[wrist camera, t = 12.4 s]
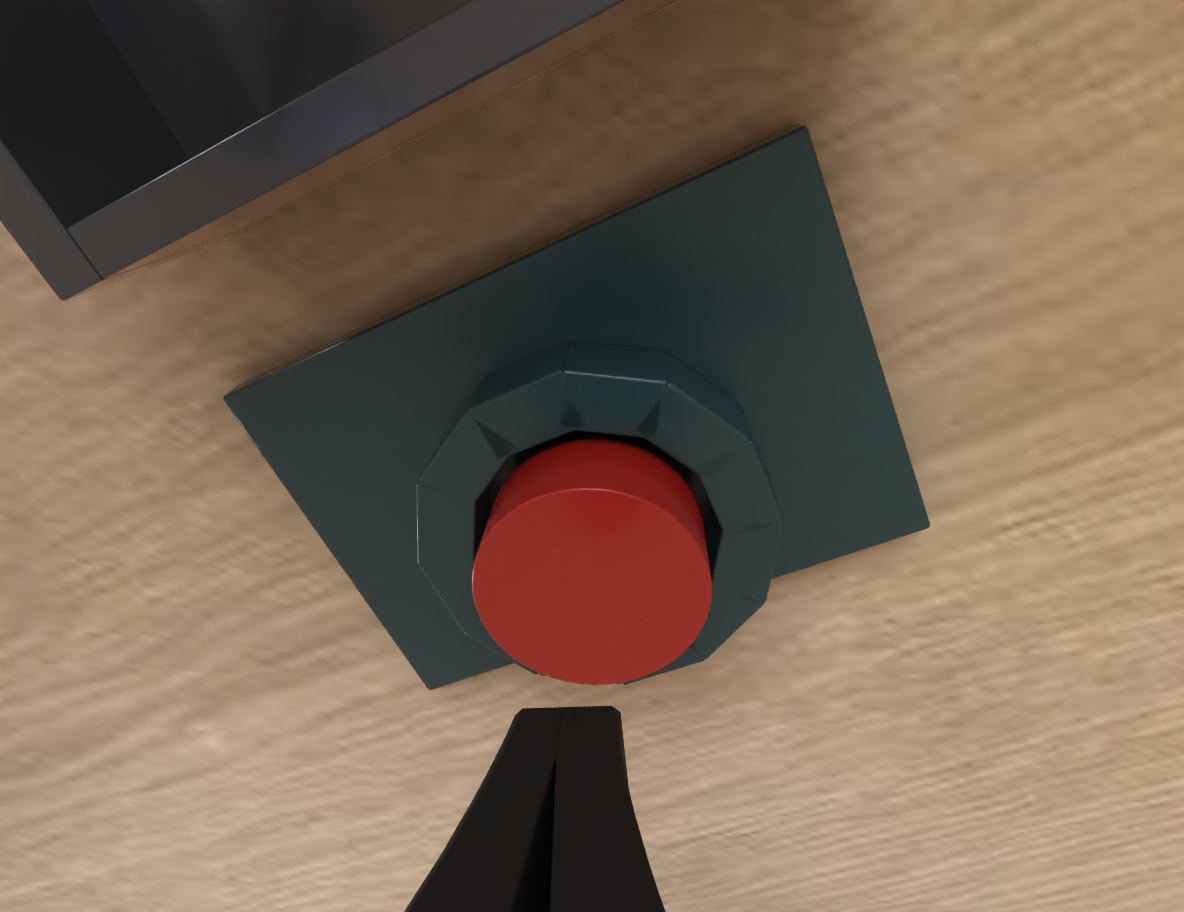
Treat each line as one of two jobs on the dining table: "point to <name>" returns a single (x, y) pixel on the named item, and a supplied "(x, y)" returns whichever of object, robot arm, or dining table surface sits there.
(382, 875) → the dining table surface
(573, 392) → the block
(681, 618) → the tap button
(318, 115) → the dark grey storage bin
